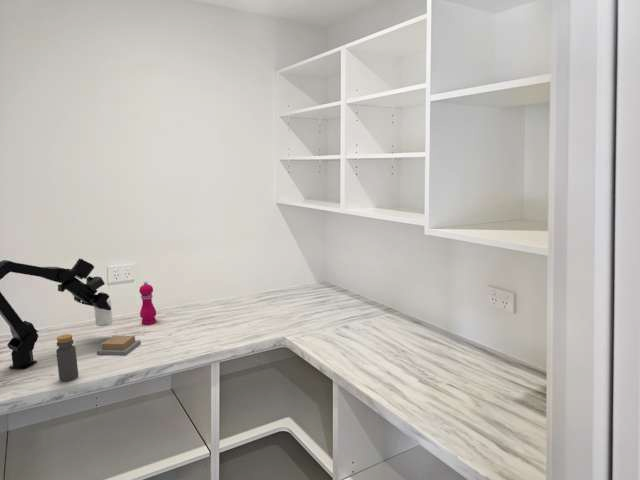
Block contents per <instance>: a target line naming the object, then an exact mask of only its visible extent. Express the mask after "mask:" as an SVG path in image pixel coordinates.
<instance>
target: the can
mask: <svg viewBox="0 0 640 480" xmlns="http://www.w3.org/2000/svg"><path fill="white" fill-rule="evenodd" d="M107 303H108V304H109V306H110V307H111V310H105V309H99V308H95V307H94V306H93V307H94V308H93V309H94V318H95V326H97V327H106V326H110V325H112V323H113V312H112V300H111V297H110V296H109V298H108V299H107Z"/></svg>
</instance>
